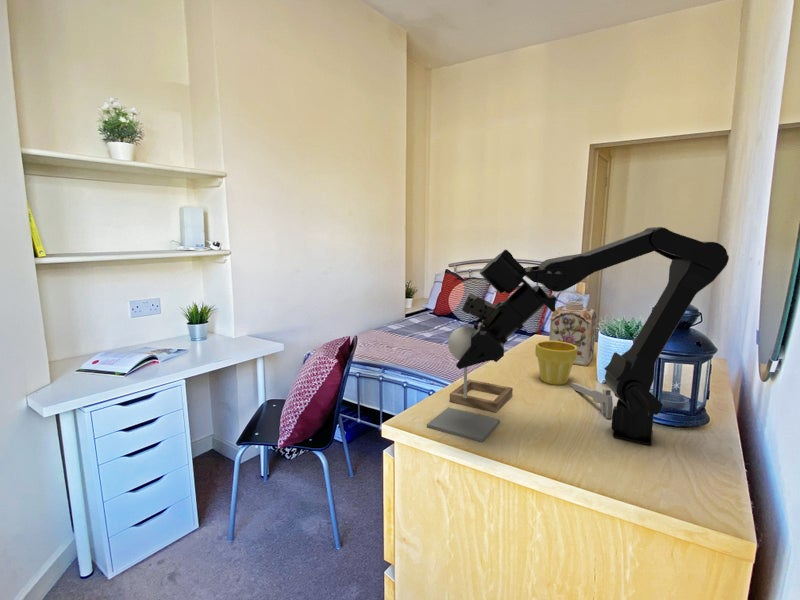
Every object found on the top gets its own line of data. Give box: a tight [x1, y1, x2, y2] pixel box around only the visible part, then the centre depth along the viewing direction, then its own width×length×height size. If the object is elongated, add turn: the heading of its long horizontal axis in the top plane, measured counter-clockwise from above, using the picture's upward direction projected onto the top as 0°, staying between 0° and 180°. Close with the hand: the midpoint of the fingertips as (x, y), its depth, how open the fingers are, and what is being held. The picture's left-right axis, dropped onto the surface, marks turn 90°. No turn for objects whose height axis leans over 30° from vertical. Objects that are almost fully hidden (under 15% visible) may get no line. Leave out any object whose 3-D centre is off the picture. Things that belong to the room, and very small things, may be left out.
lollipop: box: [447, 325, 476, 398], centre depth 86 cm, size 7×7×15 cm
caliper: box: [568, 382, 614, 419], centre depth 99 cm, size 20×1×6 cm, turn 0°
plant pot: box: [535, 340, 577, 386], centre depth 112 cm, size 10×10×10 cm
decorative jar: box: [548, 300, 597, 367], centre depth 131 cm, size 12×12×18 cm
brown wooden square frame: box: [449, 379, 514, 413], centre depth 101 cm, size 11×11×2 cm
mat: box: [426, 407, 501, 443], centre depth 87 cm, size 12×10×1 cm
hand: (459, 361), depth 86 cm, fingers closed on lollipop, 7 cm apart
